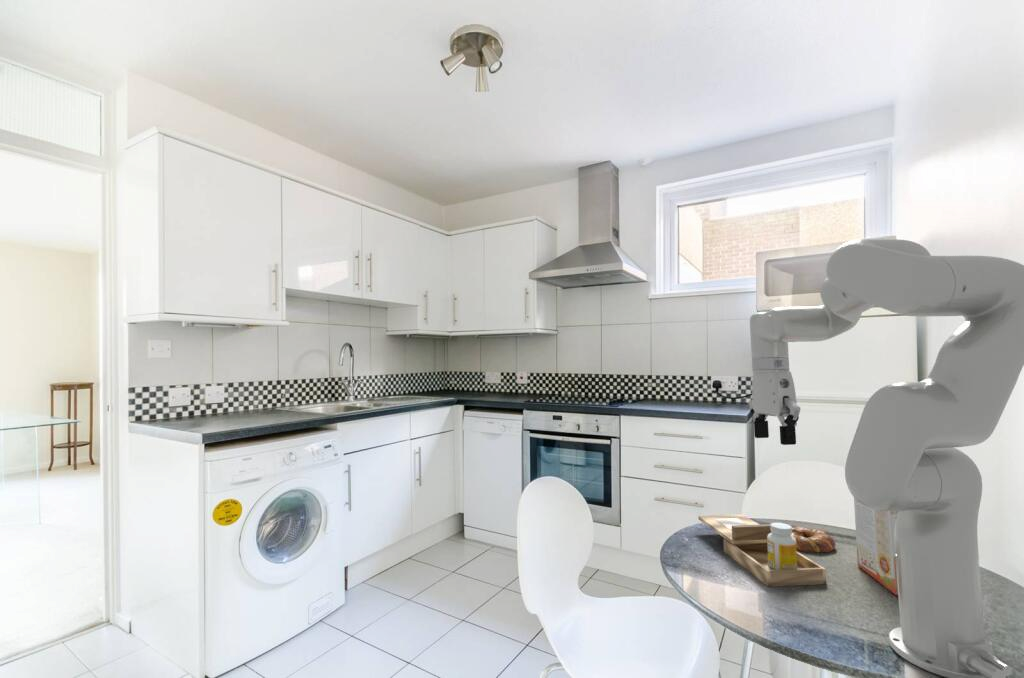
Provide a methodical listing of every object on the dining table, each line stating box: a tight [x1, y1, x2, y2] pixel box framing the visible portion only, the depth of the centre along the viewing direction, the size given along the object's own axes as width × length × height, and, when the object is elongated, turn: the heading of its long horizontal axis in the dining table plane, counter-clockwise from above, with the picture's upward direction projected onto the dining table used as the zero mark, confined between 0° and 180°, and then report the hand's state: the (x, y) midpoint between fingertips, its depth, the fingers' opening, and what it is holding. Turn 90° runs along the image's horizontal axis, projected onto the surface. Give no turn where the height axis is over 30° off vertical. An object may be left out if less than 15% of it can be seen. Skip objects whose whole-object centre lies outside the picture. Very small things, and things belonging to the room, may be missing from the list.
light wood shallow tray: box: [723, 538, 827, 588], centre depth 104 cm, size 18×12×3 cm, turn 3°
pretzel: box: [791, 525, 837, 554], centre depth 115 cm, size 12×11×4 cm
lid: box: [697, 514, 772, 544], centre depth 117 cm, size 18×12×4 cm, turn 3°
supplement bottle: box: [767, 522, 798, 570], centre depth 100 cm, size 5×5×10 cm
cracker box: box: [853, 497, 899, 596], centre depth 96 cm, size 14×6×21 cm, turn 168°
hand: (774, 440), depth 108 cm, fingers open, 9 cm apart
